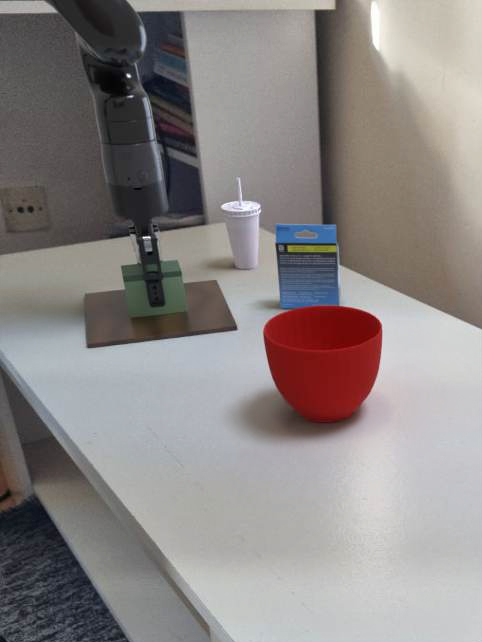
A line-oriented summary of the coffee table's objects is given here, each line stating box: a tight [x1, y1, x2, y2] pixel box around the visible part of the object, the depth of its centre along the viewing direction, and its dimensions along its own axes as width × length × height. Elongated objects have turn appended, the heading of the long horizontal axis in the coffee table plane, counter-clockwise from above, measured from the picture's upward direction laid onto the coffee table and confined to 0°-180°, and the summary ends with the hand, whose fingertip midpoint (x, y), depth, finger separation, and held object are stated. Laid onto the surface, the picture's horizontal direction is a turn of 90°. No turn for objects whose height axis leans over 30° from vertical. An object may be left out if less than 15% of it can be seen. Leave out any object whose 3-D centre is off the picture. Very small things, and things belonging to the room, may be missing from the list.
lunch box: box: [120, 259, 187, 318], centre depth 115 cm, size 5×8×6 cm, turn 108°
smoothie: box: [220, 177, 262, 270], centre depth 131 cm, size 6×6×14 cm
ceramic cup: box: [262, 305, 383, 423], centre depth 91 cm, size 13×17×10 cm
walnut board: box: [84, 279, 239, 349], centre depth 117 cm, size 20×20×1 cm
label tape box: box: [274, 223, 342, 310], centre depth 116 cm, size 9×4×12 cm, turn 89°
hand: (155, 296), depth 116 cm, fingers open, 7 cm apart
